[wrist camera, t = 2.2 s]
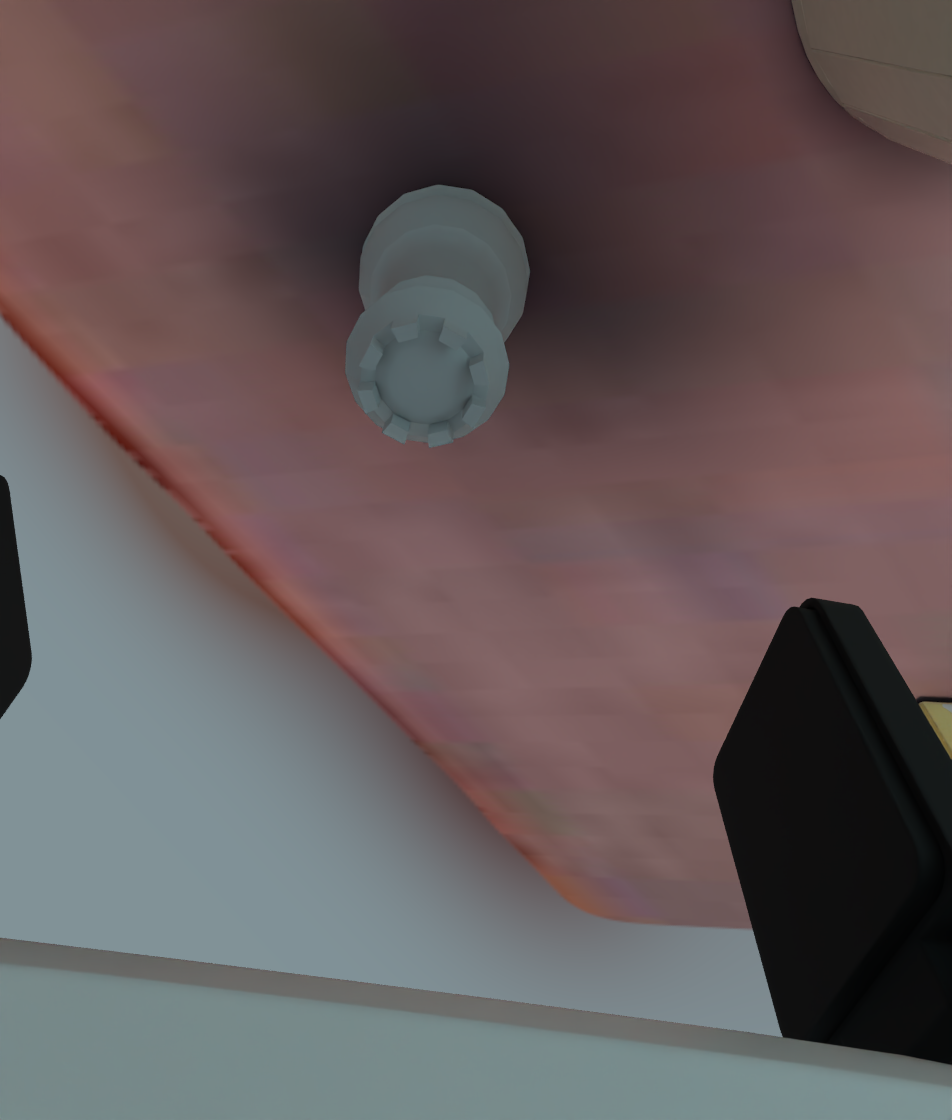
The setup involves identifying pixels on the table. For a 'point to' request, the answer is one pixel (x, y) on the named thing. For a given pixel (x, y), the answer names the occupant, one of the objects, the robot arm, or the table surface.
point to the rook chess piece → (436, 314)
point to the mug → (886, 65)
